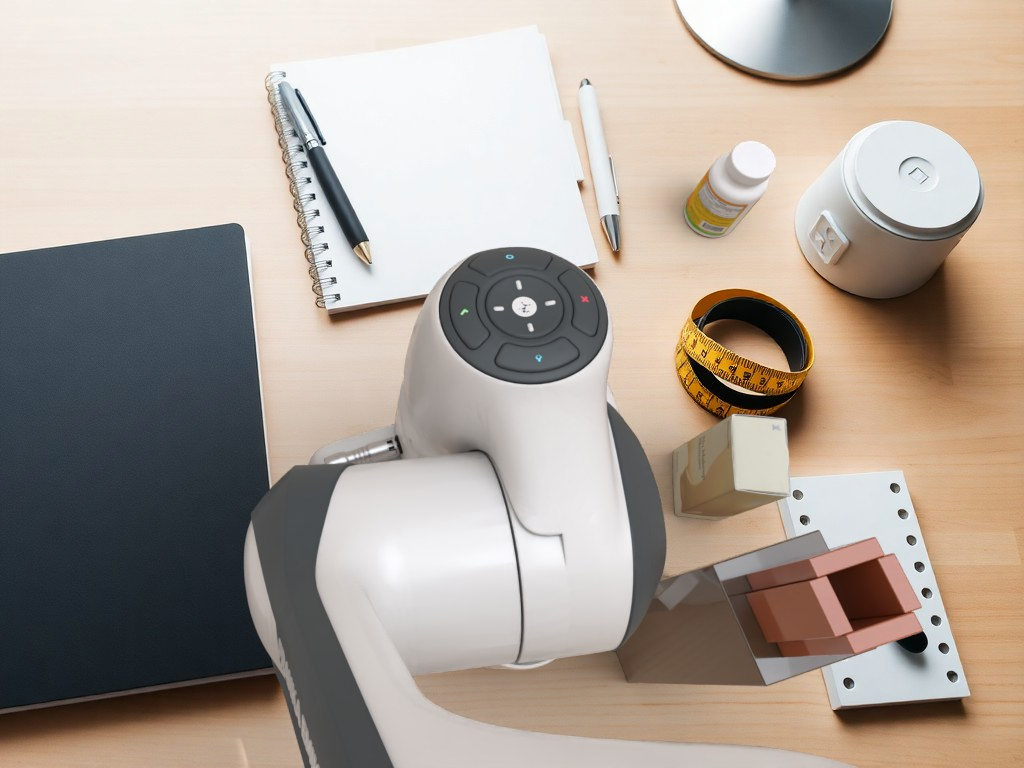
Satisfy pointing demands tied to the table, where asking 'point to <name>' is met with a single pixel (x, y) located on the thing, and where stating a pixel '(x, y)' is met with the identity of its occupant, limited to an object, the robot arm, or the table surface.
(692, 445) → the cosmetic box
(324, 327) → the table surface
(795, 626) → the holder
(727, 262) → the table surface
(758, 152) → the supplement bottle
